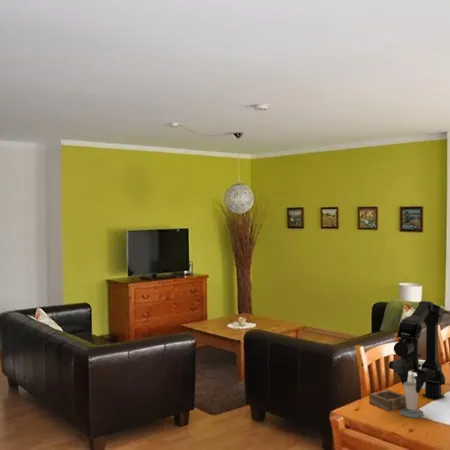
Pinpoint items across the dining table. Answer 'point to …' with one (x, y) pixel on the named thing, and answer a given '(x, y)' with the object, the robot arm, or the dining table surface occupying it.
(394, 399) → the holder
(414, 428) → the dining table surface
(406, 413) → the coaster
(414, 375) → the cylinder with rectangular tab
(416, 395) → the smoothie
